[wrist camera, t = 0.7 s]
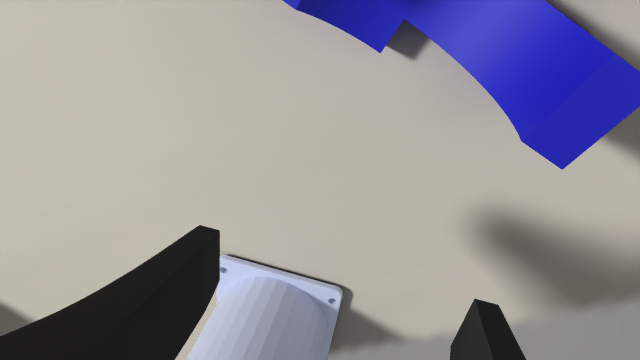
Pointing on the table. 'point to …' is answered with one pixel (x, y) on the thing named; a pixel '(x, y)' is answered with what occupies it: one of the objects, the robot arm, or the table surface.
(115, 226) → the table surface
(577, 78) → the blue notched arch
